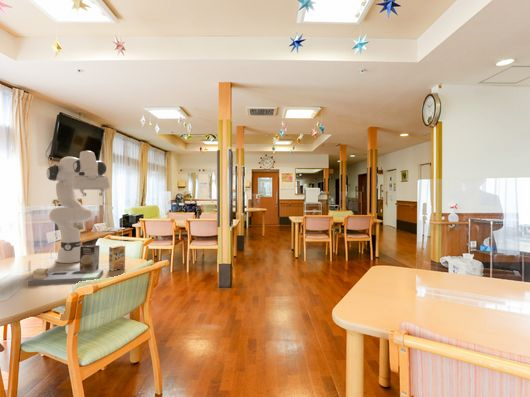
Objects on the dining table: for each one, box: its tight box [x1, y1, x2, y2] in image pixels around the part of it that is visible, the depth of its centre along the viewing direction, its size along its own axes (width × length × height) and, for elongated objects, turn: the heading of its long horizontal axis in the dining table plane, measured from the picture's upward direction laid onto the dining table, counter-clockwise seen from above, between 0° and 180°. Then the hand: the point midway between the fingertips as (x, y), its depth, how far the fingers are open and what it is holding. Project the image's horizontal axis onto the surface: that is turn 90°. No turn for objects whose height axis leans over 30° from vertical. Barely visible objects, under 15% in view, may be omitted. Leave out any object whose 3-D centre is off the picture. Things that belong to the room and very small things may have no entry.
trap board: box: [27, 269, 104, 286], centre depth 160 cm, size 16×32×2 cm, turn 108°
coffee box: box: [79, 244, 100, 271], centre depth 178 cm, size 9×6×16 cm
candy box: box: [108, 244, 126, 272], centre depth 182 cm, size 9×4×15 cm, turn 150°
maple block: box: [32, 267, 49, 279], centre depth 153 cm, size 5×5×4 cm
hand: (93, 196), depth 174 cm, fingers open, 8 cm apart
